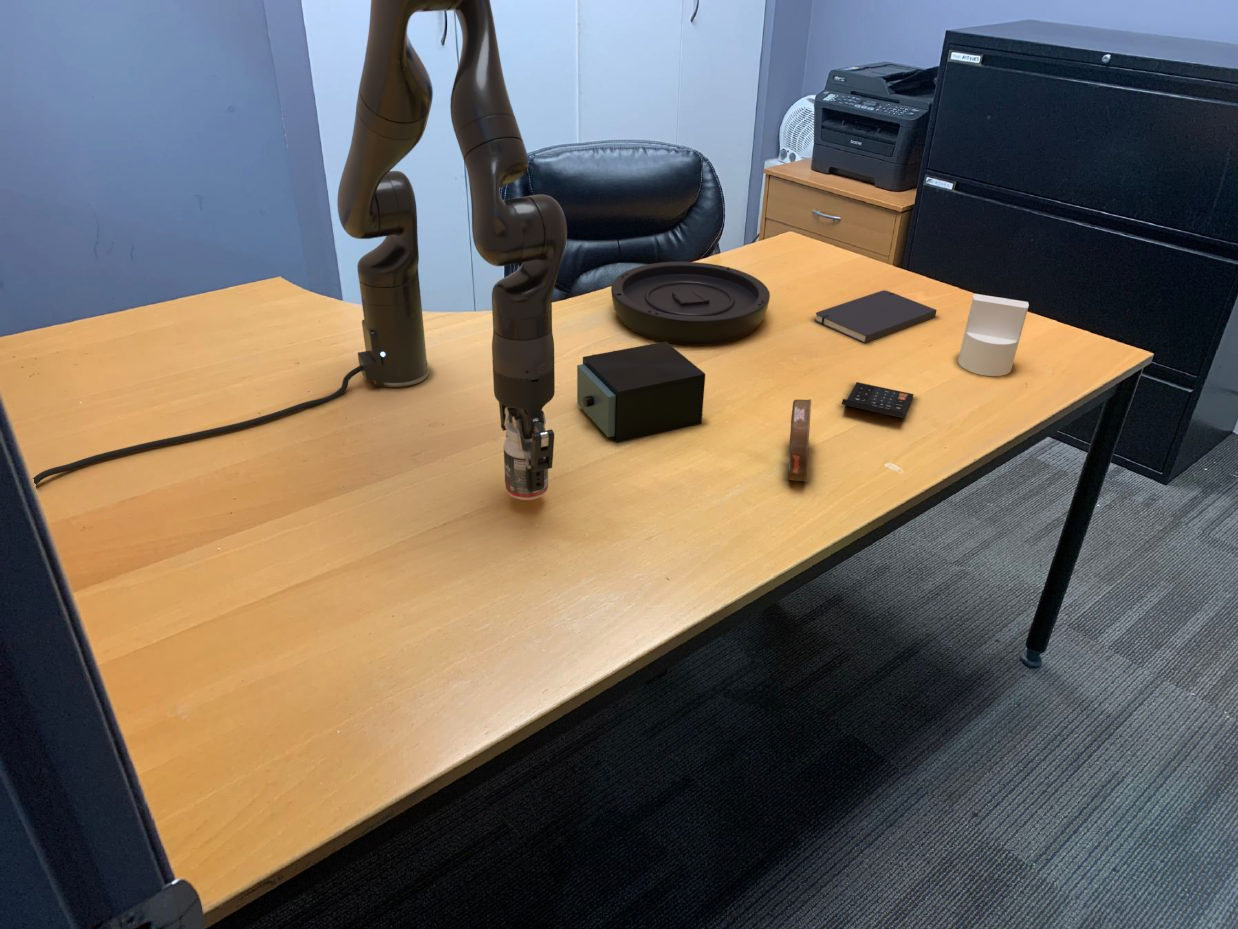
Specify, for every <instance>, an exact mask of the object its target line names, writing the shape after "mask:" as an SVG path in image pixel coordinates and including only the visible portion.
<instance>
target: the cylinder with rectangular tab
mask: <svg viewBox="0 0 1238 929" xmlns="http://www.w3.org/2000/svg"><path fill="white" fill-rule="evenodd" d="M1029 306H1030V304H1029V302H1028V301H1024V300H1017V299H1012V298H1005V297H998V296H992V295H987V294H981V293H980V294H979V293H974V294H973V296H972V299H971V304H970V308H969V313H968V316H967V321H966V324H965V325H966V326H965V329H964V333H963V336H962V337H963V338H962V342H961V345H960V349H959V354H958V358H957V363H958V365H959V366H960V367H961V368H963V369H964V370H966V371H967V372H970V373H972V374H976V375H979V376H980V375H981V376H987V377H1001V376H1002V377H1003V376H1005V375H1008V374H1009V373H1011V371H1012V368H1013V365H1014V361H1015V357H1016V354H1017V350H1018V346H1019V342H1020V339H1021V336H1022V332H1023V328H1024V325H1025V321H1026V317H1027V314H1028V310H1029Z"/></svg>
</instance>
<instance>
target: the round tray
mask: <svg viewBox="0 0 1238 929" xmlns="http://www.w3.org/2000/svg"><path fill="white" fill-rule="evenodd" d="M610 288H611V289H610V292H611V299H612V305H613V309H614V310H615V313H616V316H617V317H618V318H619V320H620V321H621V322H622V324H624V326H625V327H626V328H627V329H629V330H631V331H632V332H633V333H636V334H638V335H640V336H642V337H644V338H648V339H651V340H653V341H657V342H665V341H666V342H667V343H668V344H675V345H681V346H682V345H683V346H711V345H718V344H724V343H730V342H734V341H736V340H739V339H742V338H743V337H746V336H748V335H749V334H751V333H752V332H753V331H754V330H756V329H757V328H758V327H759V325H760V324H761V323H762V321H763V319H764V318H765V315H766V312H767V309H768V307H769V303H770V298H771V294H770V291H769V289H768V287H767V285H765V283H764V282H762V281H761V280H760V279H759V278H757V277H756V276H753V275H751V274H749V273H747V272H744V271H741V270H739V269H735V268H733V267H730V266H724V265H719V264H714V263H708V262H707V263H706V262H697V261H664V262H663V261H662V262H656V263H649V264H645V265H639V266H636V267H633V268H631V269H628V270H625V271H624V272H622V273H621V274H619V275H618V276H616V277H615V279H614V280H613V282H612V283H611V287H610Z"/></svg>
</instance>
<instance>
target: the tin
mask: <svg viewBox="0 0 1238 929" xmlns="http://www.w3.org/2000/svg"><path fill="white" fill-rule="evenodd" d="M811 411H812V399H811V398H810V399H794V400H793V401H792V410H791V416H790V417H791V418H790V433H789V450H788V451H789V457H788V468H787V479H788V481H795V482H796V481H798V482H804V483H807V476H808V475H807V474H808V473H807V470H808V459H809V458H808V457H809V444H810V430H811V427H810V426H811Z"/></svg>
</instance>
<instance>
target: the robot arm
mask: <svg viewBox="0 0 1238 929" xmlns="http://www.w3.org/2000/svg"><path fill="white" fill-rule="evenodd" d="M450 11H453V12H454V13H455V15H456V17H457V20H458V23H459V27H460V29H461V37H462V38H461V39H462V41H461V42H462V44H461V52H460V58H459V62H458V66H457V69H456V73H455V77H454V79H453V80H454V81H453V83H452V89H451V95H450V103H449V104H450V106H449V107H450V119H451V124H452V129H453V132H454V135H455V138H456V141H457V144H458V147H459V150H460V153H461V156H462V159H463V161H464V165H465V169H466V172H467V177H468V185H469V195H470V206H471V232H472V233H471V234H472V240H473V244H474V247H475V249H476V251H477V253H478V254H479V255H480V257H481V258H482V259H483V260H484V261H485V262H486V263H487V264H489V265H491V266H494V267H506V266H511V265H516V264H521V265H520V266H519V267H518V268H517V270H515V271H514V272H512V273H510V274H509V275H506V276H505V277H503V278H501V279H499V280H498V281H496V283H495V284H494V285H493V287H492V290H491V313H492V340H491V358H492V360H491V361H492V379H493V395H494V398H495V400H496V401H497V402H498V408H499V418H500V427H501V430H502V431H503V432H504V431H505V440H506V439H507V437H508V436H507V424H508V422H509V423H510V422H513V427H514V429H515V430H516V433H517V439H518V444H519V449H520V450H521V451H523V452H524V456H525V462H526V487H527V489H528V491H529V492H534V491H538V490H542V489H543V488H544V470H545V469H548V470H550V469H553V462H554V447H555V432H554V430H553V429H548V430H546V427H545V426H546V423H547V421H546V414H545V411H544V410H543V408H544V407H545V406H546V405H548V403H550V402H551V401H552V400H553V398H554V396H555V393H556V392H555V390H556V387H555V386H556V384H555V383H556V382H555V381H556V380H555V377H556V376H555V340H554V334H553V305H552V304H553V302H552V300H553V299H552V298H553V294H554V290H555V286H556V282H557V279H558V275H559V271H560V268H561V265H562V260H563V257H564V253H565V250H566V246H567V237H568V225H567V218H566V215H565V213H564V212H565V211H564V210H563V208H562V207H561V205H560V203H559V202H558V201H557V200H556V199H555V198H553V197H552V196H550V195H547V194H533V195H527V196H521V197H513V198H508V199H503V197H502V195H501V188H502V187H503V188H504V187H505V186H508V185H510V184H512V183H513V182H516V181H517V180H519V179H520V178H522V177H523V176H524V175H525V174H526V173H527V172H528V170H529V166H530V160H529V155H528V152H527V149H526V148H527V147H526V146H525V143H524V139H523V136H522V134H521V130H520V127H519V124H518V121H517V118H516V115H515V113H514V109H513V106H512V103H511V100H510V97H509V93H508V90H507V85H506V82H505V81H506V80H505V76H504V72H503V67H502V62H501V56H500V49H499V43H498V38H497V31H496V27H495V20H494V14H493V10H492V5H491V0H370V13H369V24H368V34H367V40H366V47H365V54H364V62H363V66H362V70H361V71H362V72H361V76H360V81H359V87H358V92H357V97H356V98H357V100H356V106H355V114H354V115H355V117H354V124H353V129H352V137H351V142H350V146H349V151H348V154H347V156H346V157H347V158H346V161H345V164H344V167H343V170H342V174H341V177H340V181H339V184H338V191H337V213H338V218H339V219H338V220H339V222H340V224H341V226H342V228H343V230H344V231H345V233H346V234H347V235H349V236H350V237H351V238H353V239H357V240H372V239H379V238H383V237H385V238H384V239H383V240H382V242H381V243H380V244H379V245H377V246H376V247H375V248H374V249H372V250H370V251H369V252H367V253H365V254H364V255H363V256H361V257H360V259H359V260H358V261H357V267H356V268H357V276H358V282H359V291H360V297H361V304H362V305H361V306H362V313H363V319H362V321H361V328H362V334H363V342H364V348H365V349H364V350H365V351H358V352H357V358H358V366H356V367H355V368H353V369H351V370H350V371H349V372H347V373H346V374H345V376H344V377H343V379H342V382H341V387H340V388H338V390H336V391H335V392H333V393H332V394H330V395H328V396H325V397H322V398H317V399H312V400H307V401H304V402H300V403H298V404H296V405H292V406H290V407H286V408H284V409H280V410H278V411H275V412H272V413H268V414H265V415H262V416H258V417H256V418H252V419H248V420H244V421H240V422H236V423H232V424H227V425H224V426H218V427H215V428H210V429H204V430H200V431H197V432H191V433H187V434H186V433H185V434H182V435H177V436H173V437H167V438H162V439H157V440H152V441H149V442H144V443H140V444H135V445H131V446H127V447H122V448H119V449H114V450H111V451H106V452H103V453H102V452H101V453H98V454H96V455H91V456H88V457H85V458H83V459H79V460H76V461H73V462H70V463H67V464H63V465H59V466H55V467H51V468H48V469H45V470H43V471H41V472H40V473H38V474H36V475H35V476H33V477H32V479H34V483H35V484H36V486H37V485H38V484H39V483H40V482H41V481H43V480H44V479H46V478H48V477H52V476H53V475H54V476H55V475H57V474H62V473H64V472H69V471H73V470H75V469H79V468H82V467H84V466H87V465H89V464H91V465H92V464H93V463H96V462H97V463H98V462H101V461H105V460H108V459H112V458H117V457H121V456H125V455H128V454H132V453H137V452H140V451H145V450H149V449H153V448H158V447H163V446H168V445H173V444H178V443H183V442H187V441H193V440H197V439H201V438H205V437H210V436H215V435H218V434H223V433H228V432H233V431H236V430H241V429H244V428H248V427H252V426H256V425H260V424H262V423H266V422H268V421H272V420H275V419H278V418H281V417H284V416H287V415H290V414H292V413H295V412H299V411H301V410H304V409H307V408H311V407H315V406H319V405H322V404H326V403H328V402H330V401H332V400H335V399H337V398H339V397H340V396H342V395H343V394H344V393H345V392H346V391H347V389H348V386H349V382H350V381H351V379H352V378H353V377H355V376H356V375H357V374H359V373H362V375H363V377H364V379H365V381H366V382H367V383H368V382H373V384H374V385H375V386H376V388H380V387H388V388H404V387H405V388H406V387H410V386H414V385H417V384H419V383H421V382H423V381H425V379H427V378H428V376H429V366H428V358H427V347H426V336H425V327H424V318H423V317H424V316H423V307H422V296H421V286H420V275H419V274H420V273H419V263H420V262H419V260H420V253H419V252H420V250H419V238H418V237H419V236H418V235H419V234H418V210H417V202H416V195H415V191H414V187H413V185H412V182H411V181H410V179H409V178H408V176H407V175H406V174H405V173H404V172H403V171H401V170H392V169H394V168H395V167H396V166H397V165H398V164H399V163H400V162H401V161H402V160H403V159H404V158H406V157H407V156H408V155H409V154H410V153H411V152H412V150H414V148H415V147H416V146H417V145H418V144H419V143H420V141H421V139H422V138H423V136H424V133H425V131H426V129H427V128H426V127H427V124H428V120H429V117H430V112H431V109H432V103H433V98H434V89H433V83H432V80H431V77H430V74H429V72H428V70H427V68H426V66H425V64H424V62H423V61H422V59H421V57H420V56H419V54H418V53H417V51H416V49H415V48H414V46H413V44H412V43H411V41H410V38H409V35H408V27H409V22H410V19H411V17H412V16H413V15H414V14H416V13H427V12H428V13H430V12H450ZM524 438H525V439H531V442H532V443H528V444H526V443H525V440H524ZM530 451H531V454H530Z"/></svg>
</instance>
